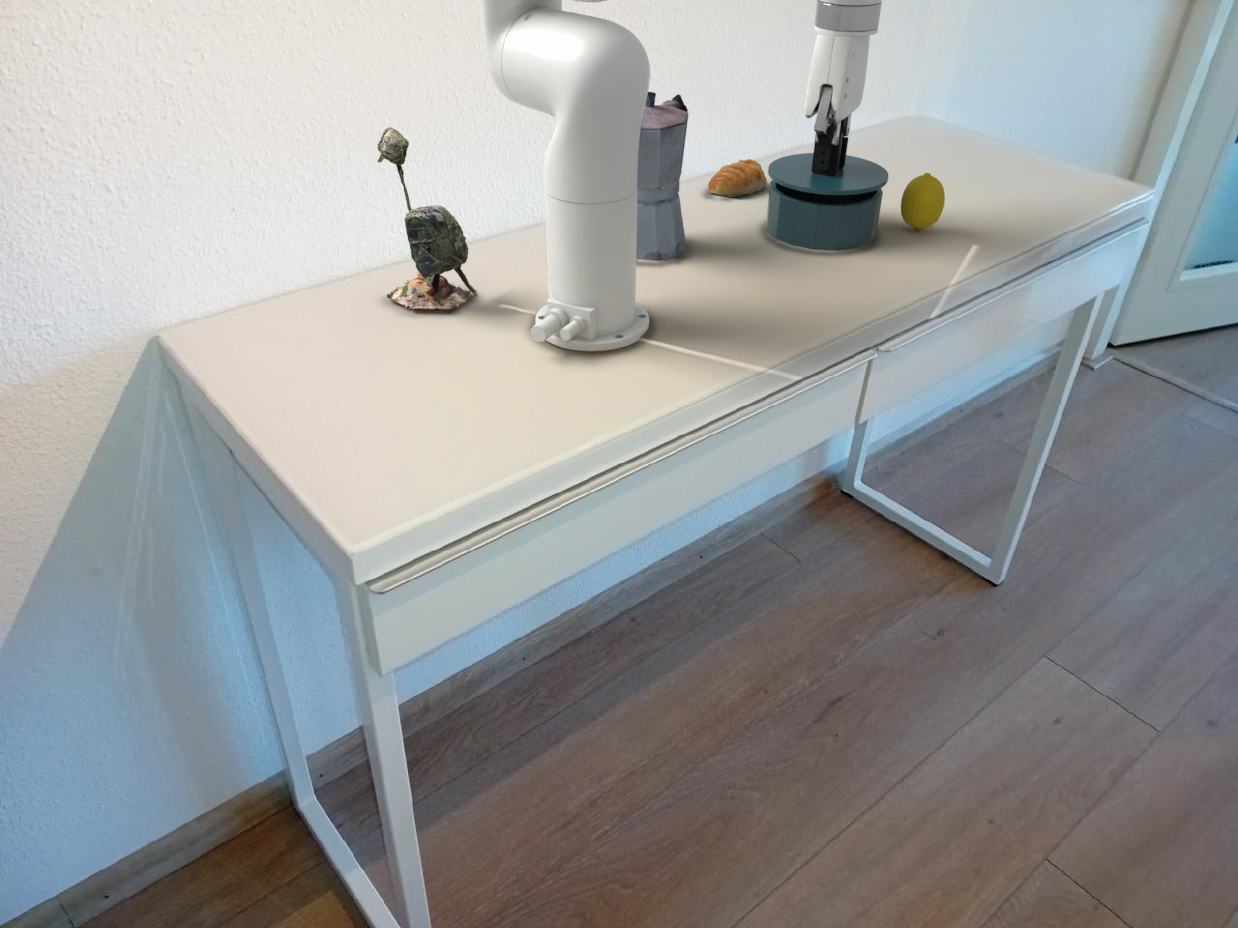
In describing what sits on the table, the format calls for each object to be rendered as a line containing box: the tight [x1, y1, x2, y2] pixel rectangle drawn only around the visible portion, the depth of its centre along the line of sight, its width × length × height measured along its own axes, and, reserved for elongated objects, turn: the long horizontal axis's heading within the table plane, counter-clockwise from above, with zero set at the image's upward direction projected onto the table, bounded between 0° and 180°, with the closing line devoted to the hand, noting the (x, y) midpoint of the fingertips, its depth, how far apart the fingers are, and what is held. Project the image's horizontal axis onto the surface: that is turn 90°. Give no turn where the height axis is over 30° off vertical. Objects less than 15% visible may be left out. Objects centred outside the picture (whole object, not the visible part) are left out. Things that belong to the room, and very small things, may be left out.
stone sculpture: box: [376, 126, 479, 311], centre depth 108 cm, size 8×11×20 cm
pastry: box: [707, 158, 768, 199], centre depth 145 cm, size 9×7×4 cm
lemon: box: [900, 172, 946, 232], centre depth 130 cm, size 6×6×8 cm
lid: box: [767, 130, 890, 195], centre depth 126 cm, size 15×15×6 cm
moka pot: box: [636, 91, 689, 262], centre depth 121 cm, size 10×15×20 cm, turn 152°
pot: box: [765, 179, 884, 251], centre depth 130 cm, size 14×14×6 cm
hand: (827, 169), depth 127 cm, fingers closed on lid, 2 cm apart
